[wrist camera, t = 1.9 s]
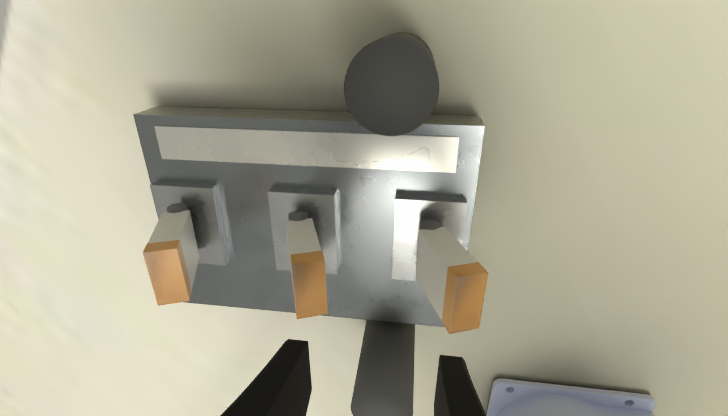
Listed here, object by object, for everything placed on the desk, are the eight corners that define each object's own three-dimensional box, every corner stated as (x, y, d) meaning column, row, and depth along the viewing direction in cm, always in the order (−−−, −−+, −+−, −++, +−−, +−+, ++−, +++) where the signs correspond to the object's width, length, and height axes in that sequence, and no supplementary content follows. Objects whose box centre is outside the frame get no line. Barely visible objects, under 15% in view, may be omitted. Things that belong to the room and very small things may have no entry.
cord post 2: (416, 307, 23) (414, 393, 18) (413, 344, 25) (411, 435, 19) (366, 302, 24) (350, 385, 18) (366, 340, 25) (351, 427, 20)
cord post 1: (437, 32, 17) (443, 38, 12) (431, 103, 18) (434, 138, 13) (368, 32, 17) (342, 37, 12) (367, 101, 19) (345, 134, 13)
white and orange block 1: (310, 209, 19) (324, 257, 15) (313, 259, 20) (327, 315, 16) (283, 211, 18) (291, 262, 14) (288, 262, 19) (297, 320, 16)
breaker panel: (478, 115, 18) (487, 129, 16) (454, 304, 23) (458, 336, 21) (159, 106, 20) (124, 117, 18) (198, 281, 25) (174, 308, 22)
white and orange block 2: (438, 217, 18) (488, 270, 14) (433, 268, 19) (478, 330, 15) (412, 220, 18) (456, 275, 14) (409, 271, 19) (449, 335, 15)
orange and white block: (191, 201, 19) (176, 246, 15) (201, 250, 20) (190, 302, 17) (164, 204, 19) (142, 250, 15) (176, 253, 20) (158, 307, 16)
